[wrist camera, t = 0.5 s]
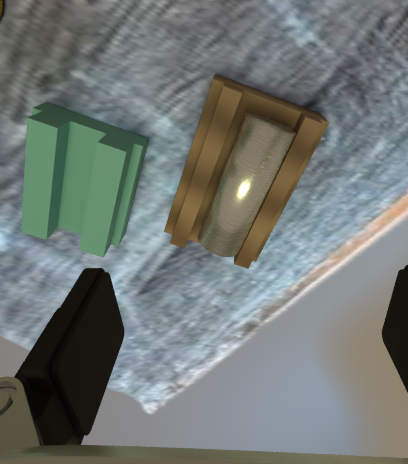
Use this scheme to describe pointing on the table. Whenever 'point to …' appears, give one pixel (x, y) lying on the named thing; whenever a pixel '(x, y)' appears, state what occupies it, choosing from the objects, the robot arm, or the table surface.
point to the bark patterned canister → (0, 6)
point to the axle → (244, 183)
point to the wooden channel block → (217, 151)
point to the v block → (79, 177)
